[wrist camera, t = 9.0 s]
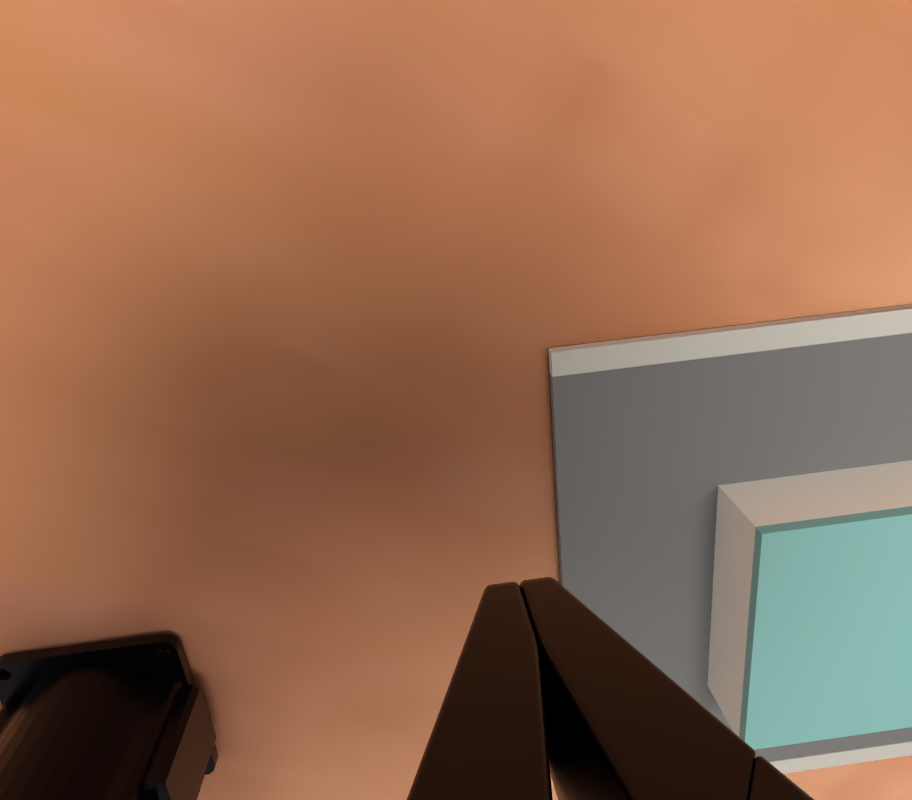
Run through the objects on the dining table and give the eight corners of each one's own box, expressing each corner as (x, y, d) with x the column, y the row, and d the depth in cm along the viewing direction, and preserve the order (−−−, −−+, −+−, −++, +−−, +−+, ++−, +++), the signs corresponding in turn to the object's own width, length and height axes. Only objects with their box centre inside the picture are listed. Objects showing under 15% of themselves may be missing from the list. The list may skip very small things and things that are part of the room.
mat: (571, 794, 28) (573, 804, 28) (548, 348, 21) (551, 352, 20) (979, 735, 29) (987, 744, 29) (1098, 281, 21) (1112, 284, 21)
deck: (743, 751, 23) (936, 723, 24) (762, 533, 20) (987, 504, 20) (707, 685, 26) (880, 661, 26) (718, 485, 23) (916, 459, 23)
